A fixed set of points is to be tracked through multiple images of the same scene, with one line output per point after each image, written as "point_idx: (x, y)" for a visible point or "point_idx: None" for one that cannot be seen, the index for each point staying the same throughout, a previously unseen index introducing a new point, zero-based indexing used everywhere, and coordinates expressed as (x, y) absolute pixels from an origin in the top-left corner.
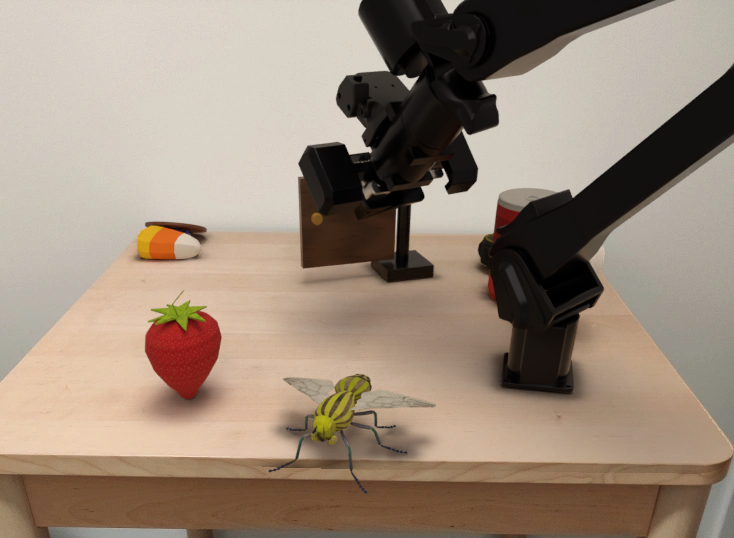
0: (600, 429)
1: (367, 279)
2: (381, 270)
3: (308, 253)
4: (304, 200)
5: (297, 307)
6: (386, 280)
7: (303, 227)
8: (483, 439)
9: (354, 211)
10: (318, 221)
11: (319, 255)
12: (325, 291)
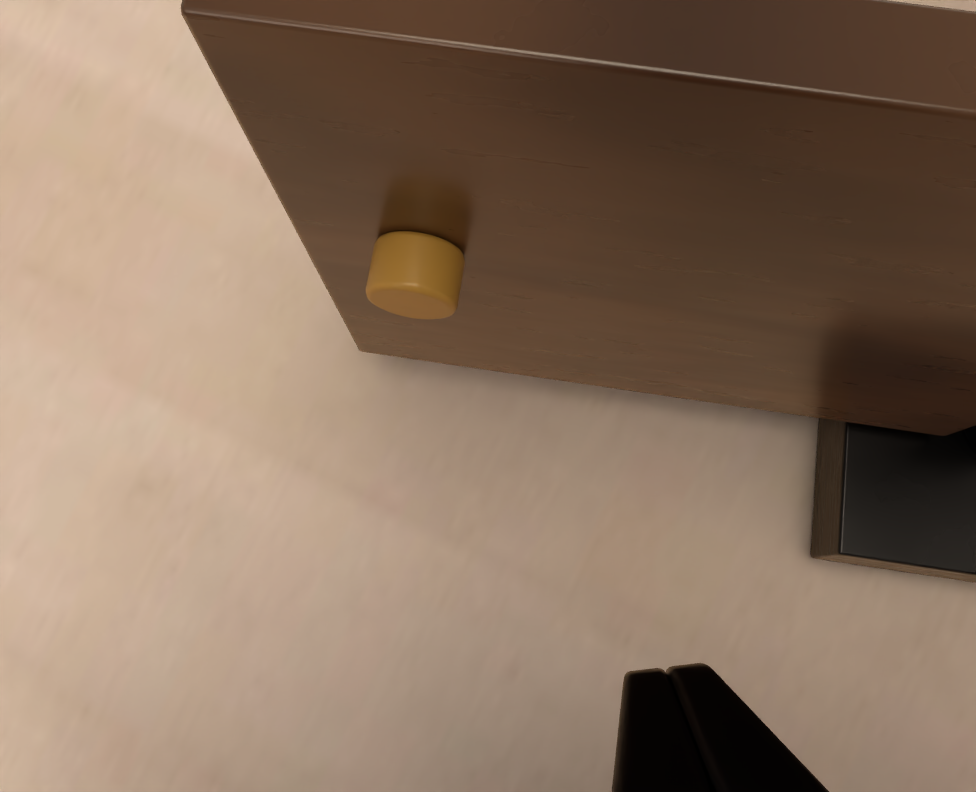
0: None
1: (725, 460)
2: (829, 453)
3: (384, 328)
4: (291, 156)
5: (186, 674)
6: (812, 543)
7: (321, 262)
8: None
9: (623, 688)
10: (416, 311)
11: (457, 347)
12: (430, 524)
